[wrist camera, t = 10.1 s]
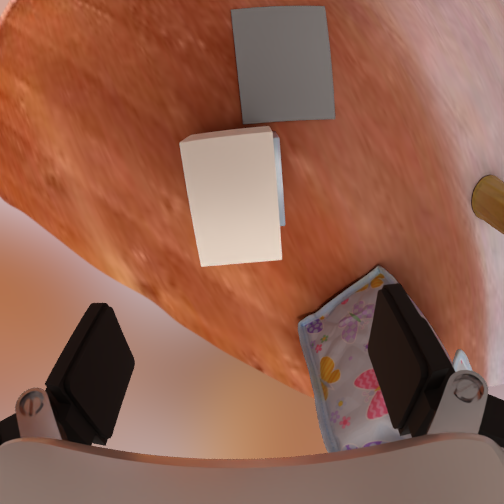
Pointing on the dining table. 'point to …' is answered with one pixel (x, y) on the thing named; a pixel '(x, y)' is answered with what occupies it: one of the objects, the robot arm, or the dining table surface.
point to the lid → (233, 195)
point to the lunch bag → (351, 367)
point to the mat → (283, 63)
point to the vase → (490, 201)
